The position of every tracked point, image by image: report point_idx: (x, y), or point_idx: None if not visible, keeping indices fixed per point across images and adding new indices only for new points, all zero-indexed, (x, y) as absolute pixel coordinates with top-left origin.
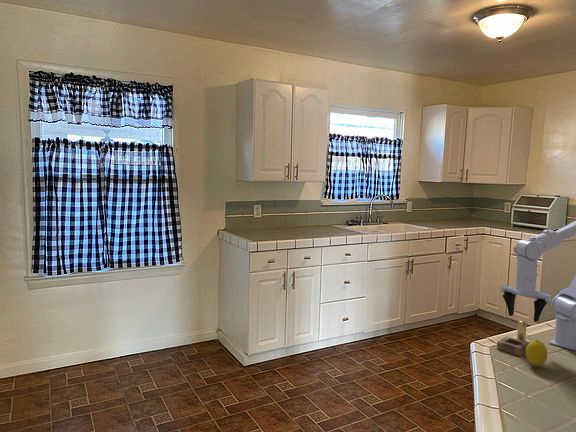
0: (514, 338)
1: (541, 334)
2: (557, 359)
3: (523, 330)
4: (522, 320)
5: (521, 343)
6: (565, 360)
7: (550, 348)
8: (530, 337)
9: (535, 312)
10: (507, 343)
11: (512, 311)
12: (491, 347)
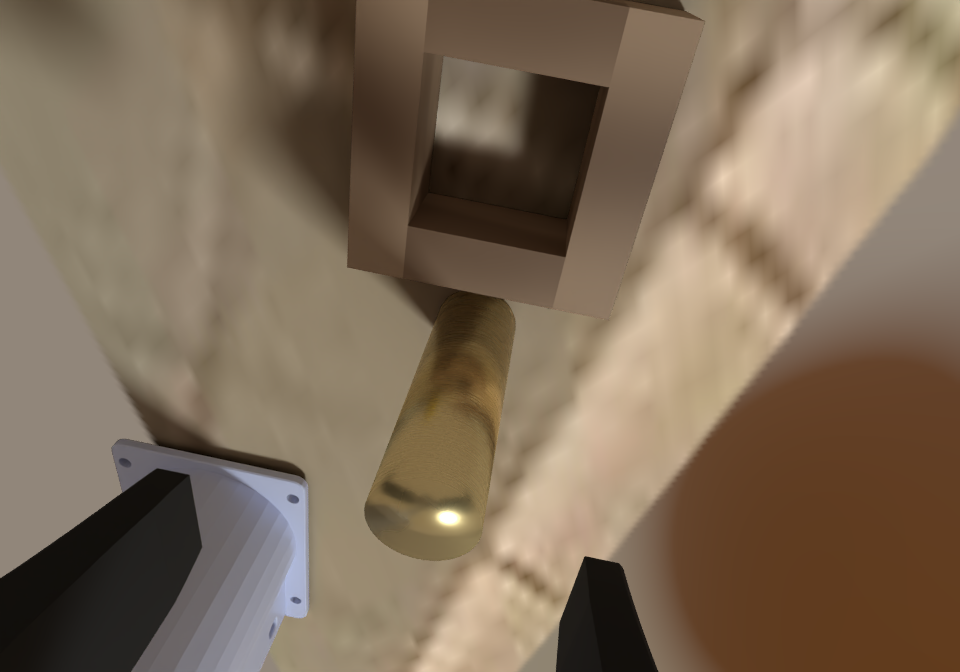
0: (518, 300)
1: (412, 605)
2: (103, 161)
3: (414, 402)
4: (434, 556)
5: (405, 176)
6: (54, 186)
7: (262, 390)
8: None
9: (6, 623)
10: (556, 37)
11: (572, 665)
12: (761, 16)
